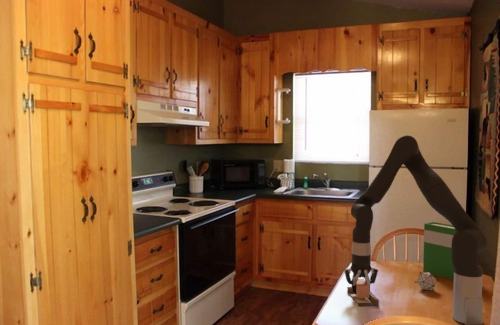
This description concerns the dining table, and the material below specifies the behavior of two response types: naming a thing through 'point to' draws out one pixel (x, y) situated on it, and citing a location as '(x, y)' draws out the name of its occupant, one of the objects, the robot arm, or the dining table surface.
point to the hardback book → (438, 249)
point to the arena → (364, 299)
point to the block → (362, 289)
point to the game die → (426, 281)
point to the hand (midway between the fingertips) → (360, 293)
